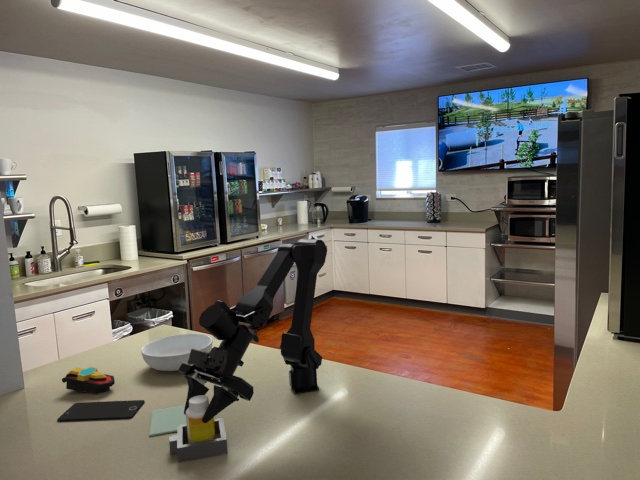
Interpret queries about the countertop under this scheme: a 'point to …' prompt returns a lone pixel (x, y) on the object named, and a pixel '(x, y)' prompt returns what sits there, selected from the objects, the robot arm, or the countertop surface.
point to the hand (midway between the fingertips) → (194, 418)
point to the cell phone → (101, 411)
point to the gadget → (88, 381)
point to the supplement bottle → (199, 420)
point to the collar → (198, 444)
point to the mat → (167, 420)
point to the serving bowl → (174, 350)
